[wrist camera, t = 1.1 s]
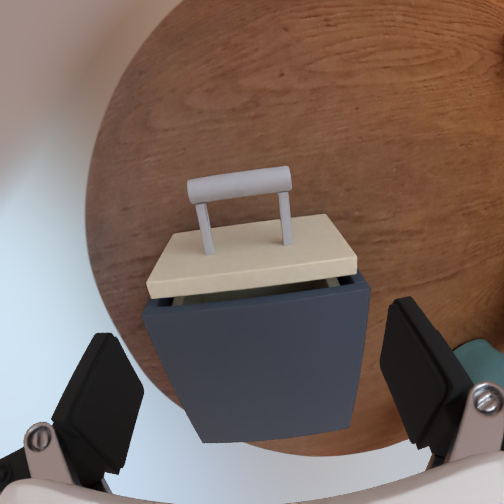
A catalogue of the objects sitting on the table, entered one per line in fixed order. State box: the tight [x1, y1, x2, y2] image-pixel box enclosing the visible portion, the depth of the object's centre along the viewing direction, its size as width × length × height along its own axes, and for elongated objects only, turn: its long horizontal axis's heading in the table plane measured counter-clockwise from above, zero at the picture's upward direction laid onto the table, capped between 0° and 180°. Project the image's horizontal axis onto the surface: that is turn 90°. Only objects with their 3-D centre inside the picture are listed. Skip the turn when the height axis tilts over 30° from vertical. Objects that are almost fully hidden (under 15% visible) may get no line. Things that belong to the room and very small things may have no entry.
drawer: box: [146, 166, 357, 306], centre depth 22 cm, size 20×12×8 cm, turn 8°
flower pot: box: [453, 339, 504, 389], centre depth 27 cm, size 18×18×17 cm
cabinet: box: [141, 268, 371, 443], centre depth 24 cm, size 16×14×10 cm
